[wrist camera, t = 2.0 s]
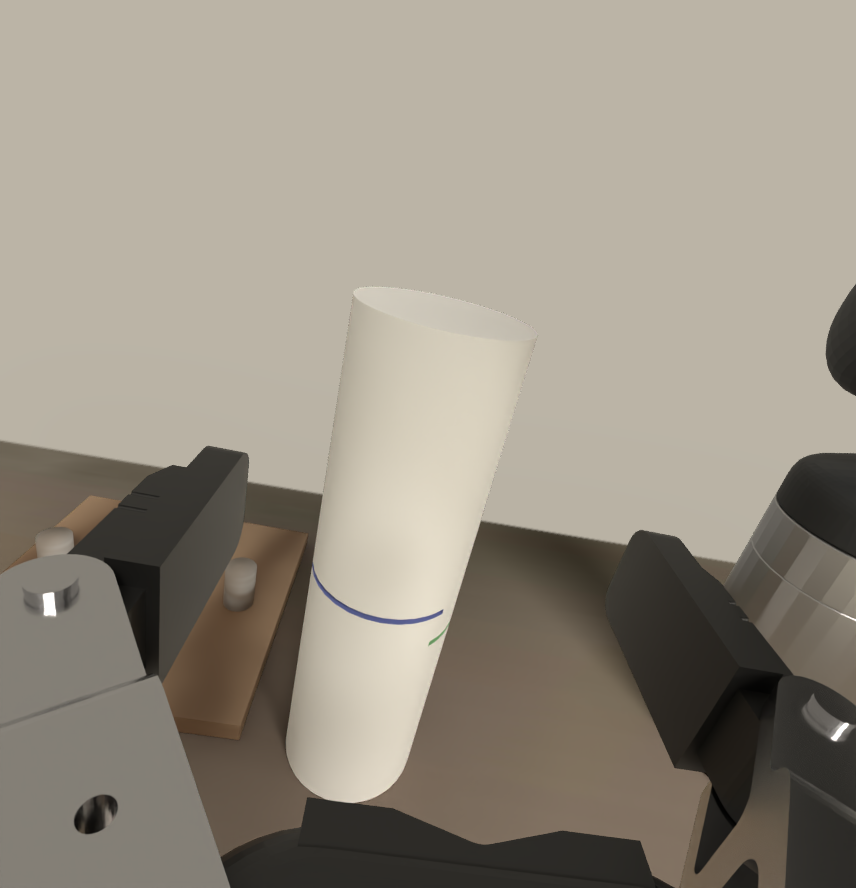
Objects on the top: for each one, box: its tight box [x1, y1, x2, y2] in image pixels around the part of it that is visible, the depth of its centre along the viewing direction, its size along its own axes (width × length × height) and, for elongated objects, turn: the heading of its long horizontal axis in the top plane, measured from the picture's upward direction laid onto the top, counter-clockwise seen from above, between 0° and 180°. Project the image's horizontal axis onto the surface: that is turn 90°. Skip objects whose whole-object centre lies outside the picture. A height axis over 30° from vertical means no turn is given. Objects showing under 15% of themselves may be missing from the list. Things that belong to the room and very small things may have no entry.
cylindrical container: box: [286, 286, 538, 803], centre depth 25 cm, size 7×7×25 cm
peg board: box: [1, 496, 308, 740], centre depth 35 cm, size 18×18×4 cm
